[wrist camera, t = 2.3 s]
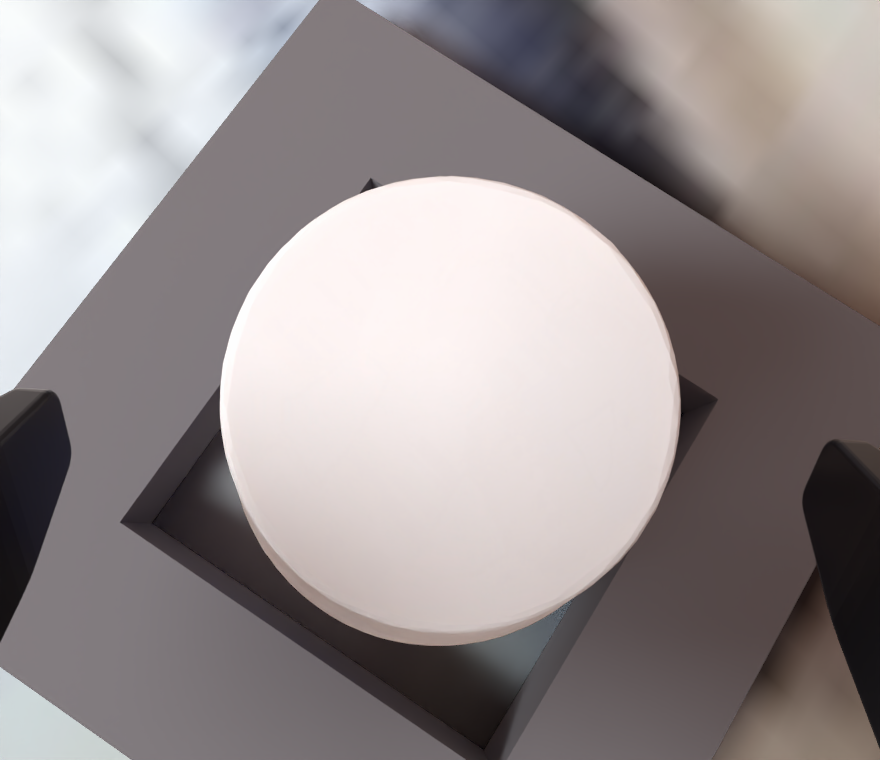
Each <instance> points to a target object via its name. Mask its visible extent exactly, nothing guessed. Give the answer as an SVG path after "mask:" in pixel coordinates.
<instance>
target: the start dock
mask: <svg viewBox="0 0 880 760" xmlns="http://www.w3.org/2000/svg"><path fill="white" fill-rule="evenodd" d="M437 176H446V177H447V176H460V177H472V178H480V179H486V180H492V181H497V182H503V183H507V184H510V185H513V186H516V187H519V188H522V189H525V190H528V191H531V192H534V193H536V194H539V195H542V196H544V197H546V198H548V199H550V200H552V201H554V202H556V203H557V204H559V205H561V206H563V207H565V208H567V209H568V210H570V211H571V212H573V213H574V214H576V215H578V216H579V217H581V218H582V219H584V220H585V221H586V222H588V223H589V224H590V225H591V226H592V227H594V228H595V229H596V230H597V231H599V232H600V233H601V234H602V235H603V236H605V237H606V238H607V239H608V240H610V241H611V242H612V243H613V244H614V245H615V247H616V248H617V249H618V250H619V252H620V253H621V254H622V255H623V256H624V257H625V258H626V260H627V261H628V262H629V263H630V265H631V266H632V267H633V268H634V270H635V271H636V272H637V274H638V275H639V276H640V278H641V279H642V281H643V282H644V284H645V286H646V287H647V289H648V291H649V292H650V294H651V296H652V298H653V299H654V301H655V303H656V305H657V307H658V309H659V311H660V314H661V316H662V318H663V321H664V323H665V326H666V328H667V331H668V333H669V337H670V340H671V344H672V347H673V351H674V354H675V359H676V365H677V370H678V375H679V385H680V398H681V412H683V413H684V415H683V416H682V418H681V420H680V428H679V437H678V443H677V448H676V454H675V459H674V462H673V466H672V469H671V473H670V476H669V479H668V482H667V484H666V487H665V489H664V492H663V494H662V497H661V499H660V502H659V504H658V507H657V509H656V511H655V512H654V514H653V516H652V517H651V519H650V521H649V522H648V524H647V525H646V527H645V529H644V530H643V532H642V533H641V535H640V537H639V538H638V540H637V541H636V543H635V544H634V545H633V546H632V547H631V549H630V550H629V551H628V552H627V553H626V554H625V556H624V557H623V558H622V559H621V560H620V561H619V562H618V563H617V564H616V565H615V566H614V567H613V568H612V569H611V570H609V571H608V572H607V573H606V574H605V575H604V576H602V577H601V578H600V579H599V580H598V581H597V582H596V583H594V584H593V585H592V586H591V587H589V588H588V589H586V590H585V591H583V592H582V593H581V594H579V595H577V596H576V597H575V598H574V600H573V601H572V603H571V605H570V606H569V608H568V610H567V611H566V613H565V615H564V616H563V618H562V620H561V621H560V623H559V625H558V626H557V628H556V630H555V631H554V633H553V635H552V637H551V638H550V640H549V642H548V643H547V645H546V647H545V648H544V650H543V652H542V653H541V655H540V657H539V658H538V660H537V662H536V663H535V665H534V667H533V668H532V670H531V672H530V674H529V675H528V677H527V679H526V680H525V682H524V684H523V685H522V687H521V689H520V690H519V692H518V694H517V695H516V697H515V699H514V700H513V702H512V704H511V705H510V707H509V709H508V710H507V712H506V714H505V716H504V717H503V719H502V721H501V722H500V724H499V726H498V727H497V729H496V731H495V732H494V734H493V736H492V737H491V739H490V741H489V742H488V744H487V746H486V747H485V749H484V750H483V749H482V748H480V747H479V746H477V745H476V744H474V743H473V742H471V741H470V740H468V739H467V738H465V737H464V736H463V735H461V734H460V733H458V732H457V731H455V730H454V729H452V728H451V727H449V726H448V725H446V724H445V723H444V722H442V721H441V720H439V719H438V718H436V717H435V716H433V715H432V714H430V713H429V712H427V711H426V710H424V709H423V708H422V707H420V706H419V705H417V704H416V703H414V702H413V701H411V700H410V699H408V698H407V697H405V696H404V695H403V694H401V693H400V692H398V691H397V690H395V689H394V688H392V687H391V686H389V685H388V684H386V683H385V682H384V681H382V680H381V679H379V678H378V677H376V676H375V675H373V674H372V673H370V672H369V671H367V670H366V669H365V668H363V667H362V666H360V665H359V664H357V663H356V662H354V661H353V660H351V659H350V658H348V657H347V656H345V655H344V654H343V653H341V652H340V651H338V650H337V649H335V648H334V647H332V646H331V645H329V644H328V643H326V642H325V641H324V640H322V639H321V638H319V637H318V636H316V635H315V634H313V633H312V632H310V631H309V630H307V629H306V628H305V627H303V626H302V625H300V624H299V623H297V622H296V621H294V620H293V619H291V618H290V617H288V616H287V615H286V614H284V613H283V612H281V611H280V610H278V609H277V608H275V607H274V606H272V605H271V604H269V603H268V602H266V601H265V600H264V599H262V598H261V597H259V596H258V595H256V594H255V593H253V592H252V591H250V590H249V589H247V588H246V587H245V586H243V585H242V584H240V583H239V582H237V581H236V580H234V579H233V578H231V577H230V576H228V575H227V574H226V573H224V572H223V571H221V570H220V569H218V568H217V567H215V566H214V565H212V564H211V563H209V562H208V561H206V560H205V559H204V558H202V557H201V556H199V555H198V554H196V553H195V552H193V551H192V550H190V549H189V548H187V547H186V546H185V545H183V544H182V543H180V542H179V541H177V540H176V539H174V538H173V537H171V536H170V535H168V534H167V533H166V532H164V531H163V530H161V529H160V528H158V527H157V526H155V525H154V524H152V522H153V521H154V520H155V518H156V517H157V515H158V514H159V513H160V511H161V510H162V509H163V507H164V506H165V504H166V503H167V502H168V500H169V499H170V497H171V496H172V495H173V493H174V492H175V490H176V489H177V488H178V486H179V485H180V484H181V482H182V481H183V479H184V478H185V477H186V475H187V474H188V472H189V471H190V470H191V468H192V467H193V465H194V464H195V463H196V461H197V460H198V458H199V457H200V456H201V454H202V453H203V452H204V450H205V449H206V447H207V446H208V445H209V443H210V442H211V440H212V439H213V438H214V436H215V435H216V433H217V432H218V431H219V429H220V428H221V422H220V387H221V376H222V368H223V361H224V358H225V354H226V350H227V346H228V342H229V339H230V335H231V332H232V329H233V326H234V324H235V321H236V319H237V316H238V314H239V312H240V310H241V307H242V305H243V303H244V301H245V299H246V297H247V295H248V293H249V291H250V289H251V288H252V286H253V285H254V283H255V282H256V280H257V279H258V278H259V276H260V275H261V273H262V272H263V270H264V269H265V267H266V266H267V264H268V263H269V262H270V261H271V260H272V259H273V257H274V256H275V255H276V254H277V253H278V252H279V250H280V249H281V248H282V247H283V246H284V245H285V244H286V243H288V242H289V241H290V240H291V239H292V238H293V237H294V236H295V235H296V234H297V233H298V232H299V231H300V230H301V229H302V228H304V227H305V226H306V225H308V224H309V223H310V222H311V221H313V220H314V219H316V218H317V217H319V216H320V215H322V214H323V213H325V212H326V211H328V210H329V209H331V208H333V207H334V206H336V205H338V204H339V203H341V202H343V201H345V200H347V199H349V198H351V197H354V196H356V195H358V194H361V193H363V192H365V191H368V190H371V189H375V188H378V187H381V186H384V185H388V184H391V183H394V182H399V181H404V180H410V179H417V178H427V177H437ZM17 388H33V389H48V390H52V391H53V392H55V393H56V394H57V396H58V397H59V399H60V402H61V406H62V410H63V414H64V418H65V422H66V426H67V430H68V434H69V438H70V443H71V451H72V454H71V462H70V466H69V470H68V472H67V475H66V478H65V481H64V484H63V487H62V490H61V493H60V496H59V499H58V502H57V505H56V508H55V511H54V513H53V516H52V519H51V522H50V525H49V528H48V531H47V534H46V537H45V540H44V543H43V546H42V549H41V551H40V554H39V557H38V560H37V563H36V566H35V568H34V571H33V573H32V576H31V579H30V581H29V583H28V585H27V588H26V590H25V592H24V594H23V597H22V599H21V601H20V603H19V605H18V607H17V609H16V611H15V613H14V615H13V617H12V619H11V622H10V624H9V626H8V628H7V630H6V632H5V634H4V636H3V638H2V640H1V642H0V667H1V668H3V669H4V670H5V671H7V672H8V673H10V674H11V675H13V676H14V677H15V678H17V679H18V680H20V681H21V682H22V683H24V684H25V685H27V686H28V687H29V688H31V689H32V690H34V691H35V692H37V693H38V694H39V695H41V696H42V697H44V698H45V699H46V700H48V701H49V702H51V703H52V704H53V705H55V706H56V707H58V708H59V709H61V710H62V711H63V712H65V713H66V714H68V715H69V716H70V717H72V718H73V719H75V720H76V721H78V722H79V723H80V724H82V725H83V726H85V727H86V728H87V729H89V730H90V731H92V732H93V733H94V734H96V735H97V736H99V737H100V738H102V739H103V740H104V741H106V742H107V743H109V744H110V745H111V746H113V747H114V748H116V749H117V750H119V751H120V752H121V753H123V754H124V755H126V756H127V757H128V758H130V759H131V760H712V759H713V757H714V755H715V753H716V751H717V749H718V748H719V746H720V744H721V742H722V740H723V738H724V736H725V734H726V733H727V731H728V729H729V727H730V725H731V723H732V721H733V720H734V718H735V716H736V714H737V712H738V710H739V708H740V706H741V705H742V703H743V701H744V699H745V697H746V695H747V693H748V692H749V690H750V688H751V686H752V684H753V682H754V680H755V678H756V677H757V675H758V673H759V671H760V669H761V667H762V665H763V664H764V662H765V660H766V658H767V656H768V654H769V652H770V650H771V649H772V647H773V645H774V643H775V641H776V639H777V637H778V636H779V634H780V632H781V630H782V628H783V626H784V624H785V622H786V621H787V619H788V617H789V615H790V613H791V611H792V609H793V608H794V606H795V604H796V602H797V600H798V598H799V596H800V594H801V593H802V591H803V589H804V587H805V585H806V583H807V581H808V580H809V578H810V576H811V574H812V572H813V570H814V568H815V566H816V565H817V563H816V560H815V556H814V552H813V548H812V544H811V540H810V536H809V532H808V528H807V524H806V521H805V517H804V513H803V507H802V496H803V491H804V488H805V486H806V484H807V481H808V479H809V477H810V475H811V473H812V470H813V468H814V466H815V464H816V462H817V459H818V457H819V455H820V453H821V450H822V449H823V447H824V445H825V444H826V443H827V442H829V441H831V440H833V439H844V440H860V441H865V442H868V443H870V444H871V445H873V446H875V447H876V448H878V449H879V447H880V326H879V325H877V324H876V323H874V322H872V321H871V320H869V319H867V318H866V317H864V316H863V315H861V314H859V313H858V312H856V311H855V310H853V309H851V308H850V307H848V306H847V305H845V304H843V303H842V302H840V301H839V300H837V299H835V298H834V297H832V296H830V295H829V294H827V293H826V292H824V291H822V290H821V289H819V288H818V287H816V286H814V285H813V284H811V283H810V282H808V281H806V280H805V279H803V278H802V277H800V276H798V275H797V274H795V273H793V272H792V271H790V270H789V269H787V268H785V267H784V266H782V265H781V264H779V263H777V262H776V261H774V260H773V259H771V258H769V257H768V256H766V255H765V254H763V253H761V252H760V251H758V250H756V249H755V248H753V247H752V246H750V245H748V244H747V243H745V242H744V241H742V240H740V239H739V238H737V237H736V236H734V235H732V234H731V233H729V232H728V231H726V230H724V229H723V228H721V227H719V226H718V225H716V224H715V223H713V222H711V221H710V220H708V219H707V218H705V217H703V216H702V215H700V214H699V213H697V212H695V211H694V210H692V209H691V208H689V207H687V206H686V205H684V204H682V203H681V202H679V201H678V200H676V199H674V198H673V197H671V196H670V195H668V194H666V193H665V192H663V191H662V190H660V189H658V188H657V187H655V186H654V185H652V184H650V183H649V182H647V181H645V180H644V179H642V178H641V177H639V176H637V175H636V174H634V173H633V172H631V171H629V170H628V169H626V168H625V167H623V166H621V165H620V164H618V163H617V162H615V161H613V160H612V159H610V158H608V157H607V156H605V155H604V154H602V153H600V152H599V151H597V150H596V149H594V148H592V147H591V146H589V145H588V144H586V143H584V142H583V141H581V140H580V139H578V138H576V137H575V136H573V135H572V134H570V133H568V132H567V131H565V130H563V129H562V128H560V127H559V126H557V125H555V124H554V123H552V122H551V121H549V120H547V119H546V118H544V117H543V116H541V115H539V114H538V113H536V112H535V111H533V110H531V109H530V108H528V107H526V106H525V105H523V104H522V103H520V102H518V101H517V100H515V99H514V98H512V97H510V96H509V95H507V94H506V93H504V92H502V91H501V90H499V89H498V88H496V87H494V86H493V85H491V84H489V83H488V82H486V81H485V80H483V79H481V78H480V77H478V76H477V75H475V74H473V73H472V72H470V71H469V70H467V69H465V68H464V67H462V66H461V65H459V64H457V63H456V62H454V61H452V60H451V59H449V58H448V57H446V56H444V55H443V54H441V53H440V52H438V51H436V50H435V49H433V48H432V47H430V46H428V45H427V44H425V43H424V42H422V41H420V40H419V39H417V38H415V37H414V36H412V35H411V34H409V33H407V32H406V31H404V30H403V29H401V28H399V27H398V26H396V25H395V24H393V23H391V22H390V21H388V20H387V19H385V18H383V17H382V16H380V15H378V14H377V13H375V12H374V11H372V10H370V9H369V8H367V7H366V6H364V5H362V4H361V3H359V2H358V1H356V0H319V1H318V2H317V4H316V5H315V6H314V7H313V9H312V10H311V11H310V13H309V14H308V15H307V16H306V18H305V19H304V20H303V21H302V23H301V24H300V25H299V27H298V28H297V29H296V30H295V32H294V33H293V34H292V35H291V37H290V38H289V39H288V41H287V42H286V43H285V44H284V46H283V47H282V48H281V49H280V51H279V52H278V53H277V55H276V56H275V57H274V58H273V60H272V61H271V62H270V63H269V65H268V66H267V67H266V69H265V70H264V71H263V72H262V74H261V75H260V76H259V78H258V79H257V80H256V81H255V83H254V84H253V85H252V86H251V88H250V89H249V90H248V92H247V93H246V94H245V95H244V97H243V98H242V99H241V100H240V102H239V103H238V104H237V106H236V107H235V108H234V109H233V111H232V112H231V113H230V114H229V116H228V117H227V118H226V120H225V121H224V122H223V123H222V125H221V126H220V127H219V128H218V130H217V131H216V132H215V134H214V135H213V136H212V137H211V139H210V140H209V141H208V142H207V144H206V145H205V146H204V148H203V149H202V150H201V151H200V153H199V154H198V155H197V156H196V158H195V159H194V160H193V162H192V163H191V164H190V165H189V167H188V168H187V169H186V170H185V172H184V173H183V174H182V176H181V177H180V178H179V179H178V181H177V182H176V183H175V184H174V186H173V187H172V188H171V190H170V191H169V192H168V193H167V195H166V196H165V197H164V198H163V200H162V201H161V202H160V204H159V205H158V206H157V207H156V209H155V210H154V211H153V212H152V214H151V215H150V216H149V218H148V219H147V220H146V221H145V223H144V224H143V225H142V227H141V228H140V229H139V230H138V232H137V233H136V234H135V235H134V237H133V238H132V239H131V241H130V242H129V243H128V244H127V246H126V247H125V248H124V249H123V251H122V252H121V253H120V255H119V256H118V257H117V258H116V260H115V261H114V262H113V263H112V265H111V266H110V267H109V269H108V270H107V271H106V272H105V274H104V275H103V276H102V277H101V279H100V280H99V281H98V283H97V284H96V285H95V286H94V288H93V289H92V290H91V291H90V293H89V294H88V295H87V297H86V298H85V299H84V300H83V302H82V303H81V304H80V305H79V307H78V308H77V309H76V311H75V312H74V313H73V314H72V316H71V317H70V318H69V319H68V321H67V322H66V323H65V325H64V326H63V327H62V328H61V330H60V331H59V332H58V333H57V335H56V336H55V337H54V339H53V340H52V341H51V342H50V344H49V345H48V346H47V347H46V349H45V350H44V351H43V353H42V354H41V355H40V356H39V358H38V359H37V360H36V361H35V363H34V364H33V365H32V367H31V368H30V369H29V370H28V372H27V373H26V374H25V376H24V377H23V378H22V379H21V381H20V382H19V383H18V384H17V386H16V387H15V388H14V389H17Z"/></svg>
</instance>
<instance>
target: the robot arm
mask: <svg viewBox="0 0 880 760" xmlns="http://www.w3.org/2000/svg"><path fill="white" fill-rule="evenodd" d="M71 454H72V451H71V443H70V438H69V434H68V430H67V426H66V422H65V418H64V414H63V410H62V406H61V402H60V399H59V397H58V396H57V394H56V393H55V392H53V391H52V390H48V389H33V388H17V389H14V390H11V391H9V392H8V393H6V394H4V395H2V396H0V642H1V640H2V638H3V636H4V634H5V632H6V630H7V628H8V626H9V624H10V622H11V619H12V617H13V615H14V613H15V611H16V609H17V607H18V605H19V603H20V601H21V599H22V597H23V594H24V592H25V590H26V588H27V585H28V583H29V581H30V579H31V576H32V573H33V571H34V568H35V566H36V563H37V560H38V557H39V554H40V551H41V549H42V546H43V543H44V540H45V537H46V534H47V531H48V528H49V525H50V522H51V519H52V516H53V513H54V511H55V508H56V505H57V502H58V499H59V496H60V493H61V490H62V487H63V484H64V481H65V478H66V475H67V472H68V470H69V466H70V462H71ZM802 507H803V513H804V517H805V521H806V524H807V528H808V532H809V536H810V540H811V544H812V548H813V552H814V556H815V560H816V563H817V567H818V571H819V575H820V579H821V583H822V587H823V591H824V595H825V599H826V603H827V606H828V609H829V613H830V616H831V620H832V623H833V626H834V629H835V631H836V634H837V637H838V640H839V643H840V645H841V648H842V651H843V653H844V656H845V659H846V661H847V664H848V666H849V669H850V672H851V674H852V677H853V680H854V682H855V685H856V687H857V690H858V693H859V695H860V698H861V701H862V703H863V706H864V709H865V711H866V714H867V716H868V719H869V722H870V724H871V727H872V730H873V732H874V735H875V737H876V740H877V743H878V745H879V748H880V450H879V449H878V448H876V447H875V446H873V445H871V444H870V443H868V442H865V441H860V440H844V439H833V440H831V441H829V442H827V443H826V444H825V445H824V447H823V449H822V450H821V453H820V455H819V457H818V459H817V462H816V464H815V466H814V468H813V470H812V473H811V475H810V477H809V479H808V481H807V484H806V486H805V488H804V491H803V496H802Z"/></svg>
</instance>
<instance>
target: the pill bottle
mask: <svg viewBox="0 0 880 760" xmlns="http://www.w3.org/2000/svg"><path fill="white" fill-rule="evenodd" d="M680 418H681V398H680V385H679V375H678V370H677V365H676V359H675V354H674V351H673V347H672V344H671V340H670V337H669V333H668V331H667V328H666V326H665V323H664V321H663V318H662V316H661V314H660V311H659V309H658V307H657V305H656V303H655V301H654V299H653V298H652V296H651V294H650V292H649V291H648V289H647V287H646V286H645V284H644V282H643V281H642V279H641V278H640V276H639V275H638V274H637V272H636V271H635V270H634V268H633V267H632V266H631V265H630V263H629V262H628V261H627V260H626V258H625V257H624V256H623V255H622V254H621V253H620V252H619V250H618V249H617V248H616V247H615V245H614V244H613V243H612V242H611V241H610V240H608V239H607V238H606V237H605V236H603V235H602V234H601V233H600V232H599V231H597V230H596V229H595V228H594V227H592V226H591V225H590V224H589V223H588V222H586V221H585V220H584V219H582V218H581V217H579V216H578V215H576V214H574V213H573V212H571V211H570V210H568V209H567V208H565V207H563V206H561V205H559V204H557V203H556V202H554V201H552V200H550V199H548V198H546V197H544V196H542V195H539V194H536V193H534V192H531V191H528V190H525V189H522V188H519V187H516V186H513V185H510V184H507V183H503V182H497V181H492V180H486V179H480V178H472V177H460V176H447V177H446V176H437V177H427V178H417V179H410V180H404V181H399V182H394V183H391V184H388V185H384V186H381V187H378V188H375V189H371V190H368V191H365V192H363V193H361V194H358V195H356V196H354V197H351V198H349V199H347V200H345V201H343V202H341V203H339V204H338V205H336V206H334V207H333V208H331V209H329V210H328V211H326V212H325V213H323V214H322V215H320V216H319V217H317V218H316V219H314V220H313V221H311V222H310V223H309V224H308V225H306V226H305V227H304V228H302V229H301V230H300V231H299V232H298V233H297V234H296V235H295V236H294V237H293V238H292V239H291V240H290V241H289V242H288V243H286V244H285V245H284V246H283V247H282V248H281V249H280V250H279V252H278V253H277V254H276V255H275V256H274V257H273V259H272V260H271V261H270V262H269V263H268V264H267V266H266V267H265V269H264V270H263V272H262V273H261V275H260V276H259V278H258V279H257V280H256V282H255V283H254V285H253V286H252V288H251V289H250V291H249V293H248V295H247V297H246V299H245V301H244V303H243V305H242V307H241V310H240V312H239V314H238V316H237V319H236V321H235V324H234V326H233V329H232V332H231V335H230V339H229V342H228V346H227V350H226V354H225V358H224V361H223V368H222V376H221V387H220V422H221V431H222V438H223V444H224V450H225V455H226V458H227V462H228V466H229V469H230V473H231V476H232V478H233V481H234V483H235V486H236V489H237V491H238V494H239V498H240V501H241V504H242V507H243V510H244V513H245V515H246V518H247V520H248V522H249V524H250V526H251V528H252V530H253V532H254V534H255V536H256V538H257V540H258V542H259V543H260V545H261V547H262V549H263V550H264V552H265V553H266V555H267V556H268V557H269V558H270V560H271V561H272V563H273V564H274V566H275V567H276V568H277V569H278V570H279V572H280V573H281V574H282V575H283V576H284V577H285V578H286V579H287V581H288V582H289V583H290V584H291V585H292V586H293V587H294V588H295V589H296V590H297V591H299V592H300V593H301V594H302V595H303V596H304V597H305V598H307V599H308V600H309V601H311V602H312V603H313V604H314V605H316V606H317V607H318V608H320V609H321V610H323V611H324V612H326V613H327V614H329V615H330V616H332V617H334V618H335V619H337V620H339V621H341V622H342V623H344V624H346V625H348V626H350V627H353V628H355V629H358V630H360V631H362V632H365V633H367V634H370V635H373V636H376V637H379V638H383V639H387V640H391V641H396V642H401V643H406V644H416V645H426V646H451V645H463V644H469V643H476V642H482V641H486V640H490V639H494V638H498V637H502V636H505V635H507V634H510V633H512V632H515V631H517V630H520V629H522V628H525V627H527V626H530V625H531V624H533V623H535V622H537V621H539V620H541V619H543V618H544V617H546V616H548V615H549V614H551V613H552V612H554V611H555V610H557V609H558V608H560V607H561V606H562V605H564V604H565V603H567V602H568V601H569V600H571V599H572V598H574V597H576V596H577V595H579V594H581V593H582V592H583V591H585V590H586V589H588V588H589V587H591V586H592V585H593V584H594V583H596V582H597V581H598V580H599V579H600V578H601V577H602V576H604V575H605V574H606V573H607V572H608V571H609V570H611V569H612V568H613V567H614V566H615V565H616V564H617V563H618V562H619V561H620V560H621V559H622V558H623V557H624V556H625V554H626V553H627V552H628V551H629V550H630V549H631V547H632V546H633V545H634V544H635V543H636V541H637V540H638V538H639V537H640V535H641V533H642V532H643V530H644V529H645V527H646V525H647V524H648V522H649V521H650V519H651V517H652V516H653V514H654V512H655V511H656V509H657V507H658V504H659V502H660V499H661V497H662V494H663V492H664V489H665V487H666V484H667V482H668V479H669V476H670V473H671V469H672V466H673V462H674V459H675V454H676V448H677V443H678V437H679V428H680Z"/></svg>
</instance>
